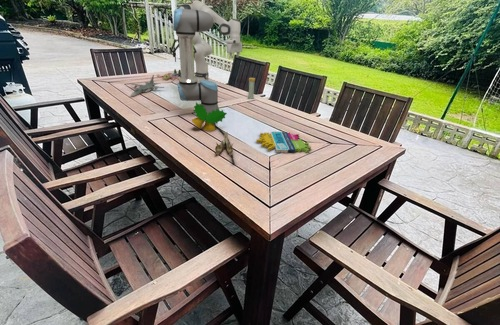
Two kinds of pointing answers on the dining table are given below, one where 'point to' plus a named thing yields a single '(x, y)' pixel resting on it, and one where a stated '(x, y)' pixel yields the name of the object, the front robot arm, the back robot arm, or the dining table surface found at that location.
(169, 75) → the toy
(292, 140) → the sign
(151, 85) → the airplane
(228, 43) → the back robot arm
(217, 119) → the ornament
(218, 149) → the jawbone
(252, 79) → the lid
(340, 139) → the dining table surface
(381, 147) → the dining table surface
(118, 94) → the dining table surface
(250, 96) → the jar
